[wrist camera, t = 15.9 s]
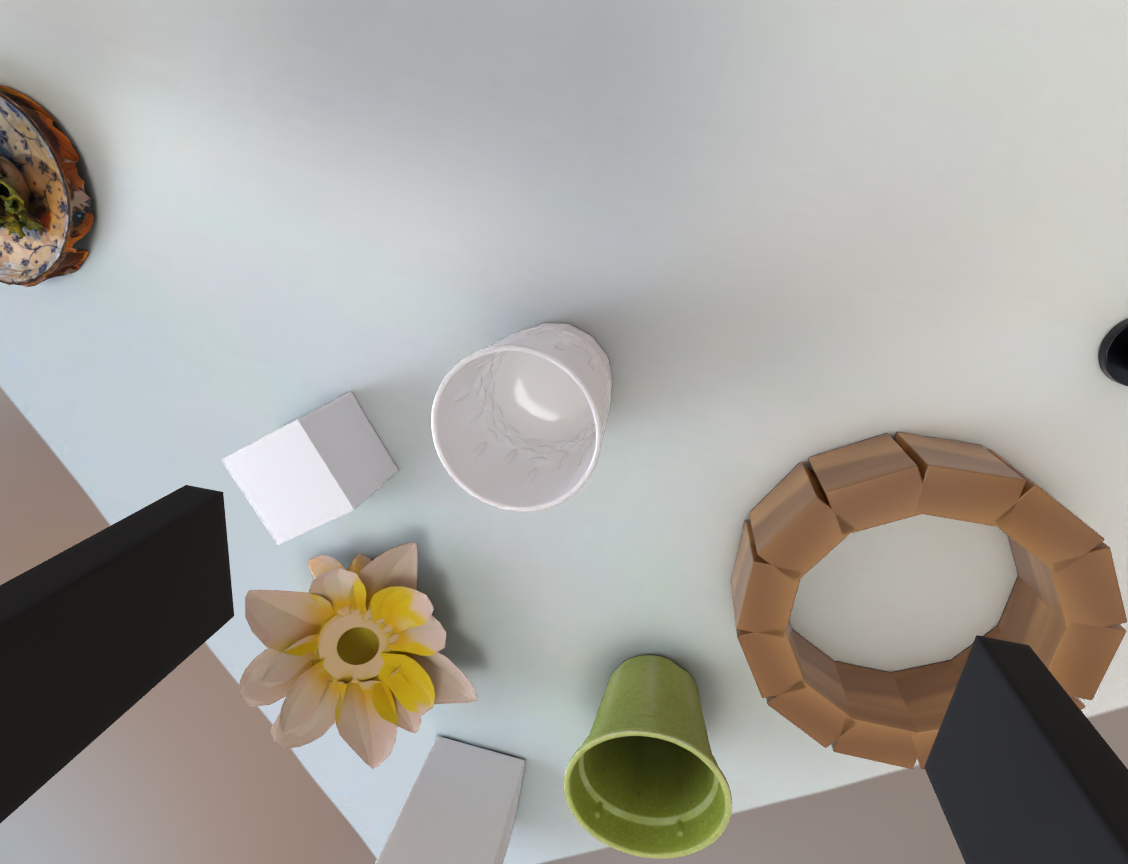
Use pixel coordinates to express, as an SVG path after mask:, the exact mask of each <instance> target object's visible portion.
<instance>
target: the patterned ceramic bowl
mask: <svg viewBox="0 0 1128 864" xmlns="http://www.w3.org/2000/svg"><path fill="white" fill-rule="evenodd" d="M54 121H55V120H54V119H53V118H52V117H51V116H50V115H49V114H48V113H47V112H46V111H45V110H44V109H43V108H42V107H41V106H39V105H38V104H37V103H35V102H34V101H32V100H31V99H30V98H28V97H27V96H26V95H24V94H22V93H19V92H17V91H15V90H13V89H11V88H9V87H6V86H2V85H0V282H2V283H5V284H8V285H12V284H15V285H23V286H25V287H30V286H35V285H37V284H39V283H41V282H43V281H45V280H47V279H48V278H52V277H55V276H61V275H66V274H69V273H73V272H76V271H77V270H79V268H80V267H79V265H80V264H82V263H83V262H82V261H84V260H85V259H86V257H87V255H88V254H89V252H88V251H85V250H80V249H78V250H76V249H72V246H73V245H74V243H75V242H76V241H78V240H80V239H81V238H82V237H83V236H84V235H86V233H87V232H88V231H89V230H90V228H91V227H92V223H93V221H94V214H93V213H91V212H90V208H91V205H92V203H93V201H92V200H91V199H90V198H89V197H88V196H87V195H86V194H85V189H84V183H85V181H84V180H82V179H81V178H80V177H79V175H78V169H77V168H76V165H75V164H76V162H78V160H79V155H78V154H77V153H76V152H75V150H74V149H73V147H72V144H71V141H70V140H69V139H68V138H67V137H66V136H65V135H64V134H63V133H62V132H60V131H59V130H58V129H56V128H55V127H54V126H53V122H54Z"/></svg>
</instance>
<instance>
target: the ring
mask: <svg viewBox="0 0 1128 864" xmlns="http://www.w3.org/2000/svg"><path fill="white" fill-rule="evenodd" d="M809 462H810V465H811V468H812V470H813V471H812V470H811V469H809V468H808V467H807V466H806V465H804V464H803V463H802V462H800V463H799V464H798V465H797V466H796V467H795V468H794V469H793V470H792V471H791V472H790V473H789V474H788V475H787V476H786V477H785V478H784V479H783V480H782V481H781V482H780V483H779V484H778V485H777V486H776V487H775V488H774V489H773V490H772V491H771V492H770V493H769V494H768V495H767V496H766V497H765V498H764V499H763V500H762V501H761V502H760V503H759V504H758V505H757V506H756V507H755V508H754V509H753V510H752V511H751V512H750V513H749V516H750V521H748V520H745V522H744V526H743V531H742V535H741V539H740V544H739V548H738V552H737V557H736V561H735V565H734V570H733V574H732V578H731V585H732V597H733V605H734V613H735V622H736V630H737V637H738V640H739V642H740V645H741V647H742V650H743V652H744V654H745V657H746V659H747V662H748V664H749V667H750V669H751V672H752V674H753V676H754V679H755V681H756V684H757V686H758V689H759V691H760V694H761V696H762V698H767V704H768V705H769V706H770V707H772V708H773V709H774V710H776V711H777V712H778V713H780V714H781V715H782V716H784V717H785V718H786V719H788V720H789V721H790V722H792V723H793V724H794V725H796V726H797V727H798V728H800V729H801V730H802V731H804V732H805V733H806V734H808V735H809V736H810V737H812V738H813V739H814V740H816V741H817V742H818V743H820V744H821V745H822V746H824V747H825V748H826V747H828V746H829V745H830V744H832V748H833V751H834V752H838V753H842V754H847V755H851V756H856V757H860V758H865V759H869V760H874V761H878V762H883V763H887V764H892V765H896V766H901V767H905V768H910V769H913V767H914V764H915V762H916V759H917V760H918V762H919V764H920V767H921V769H925V768H924V766H925V764H926V761H927V759H928V756H929V754H930V751H931V749H932V746H933V744H934V741H935V739H936V736H937V734H938V731H939V729H940V726H941V724H942V721H943V719H944V716H945V714H946V711H947V709H948V706H949V704H950V701H951V698H952V696H953V693H954V691H955V688H956V686H957V683H958V681H959V678H960V676H961V673H962V671H963V668H964V666H965V663H966V661H967V658H968V656H969V653H970V651H971V648H972V646H973V645H971V646H970V647H969V648H967V649H966V650H965V651H963V652H962V653H961V654H959V655H958V656H956V657H955V658H954V659H952V660H951V661H946V662H941V663H936V664H931V665H927V666H922V667H917V668H912V669H907V670H902V671H898V672H893V673H890V672H885V671H880V670H875V669H870V668H865V667H860V666H855V665H850V664H845V663H840V662H836V661H833V660H832V659H830V658H829V657H828V656H826V655H825V654H824V653H822V652H821V651H820V650H819V649H817V648H816V647H815V646H813V645H812V644H811V643H809V642H808V641H807V640H805V639H804V638H803V637H801V636H800V635H799V634H798V633H796V632H795V631H794V630H792V628H791V625H790V623H789V618H790V614H791V611H792V607H793V603H794V600H795V596H796V593H797V589H798V585H799V582H800V578H801V577H802V576H803V575H804V574H805V573H807V572H808V571H809V570H810V569H811V568H812V567H813V566H814V565H815V564H817V563H818V562H819V561H820V560H821V559H822V558H823V557H824V556H825V555H827V554H828V553H829V552H830V551H831V550H832V549H833V548H834V547H836V546H837V545H838V544H839V543H840V542H841V541H842V540H843V539H844V538H846V537H847V536H848V535H849V534H850V533H853V532H857V531H860V530H864V529H868V528H871V527H875V526H879V525H883V524H886V523H890V522H894V521H897V520H901V519H905V518H908V517H912V516H916V515H919V514H926V515H932V516H938V517H944V518H950V519H956V520H962V521H968V522H974V523H979V524H985V525H991V526H997V527H998V528H1000V529H1001V530H1002V531H1003V532H1005V533H1006V534H1007V535H1008V538H1009V541H1010V545H1011V549H1012V552H1013V556H1014V560H1015V563H1016V567H1017V570H1018V574H1019V576H1018V578H1017V581H1016V583H1015V586H1014V588H1013V590H1012V593H1011V595H1010V598H1009V600H1008V603H1007V605H1006V607H1005V610H1004V612H1003V615H1002V617H1001V620H1000V622H999V624H998V626H997V627H996V628H994V629H993V630H992V631H990V632H989V633H988V634H986V635H985V636H983V637H988V638H993V639H999V640H1004V641H1009V642H1014V643H1020V644H1025V645H1029V646H1030V647H1031V648H1032V650H1033V651H1034V652H1035V653H1036V655H1037V656H1038V657H1039V658H1040V660H1041V661H1042V662H1043V663H1044V665H1045V666H1046V667H1047V669H1048V670H1049V671H1050V672H1051V674H1052V675H1053V676H1054V677H1055V679H1056V680H1057V681H1058V682H1059V684H1060V685H1061V686H1062V687H1063V689H1064V690H1065V691H1066V692H1067V694H1068V695H1069V696H1070V697H1071V699H1072V700H1073V701H1074V703H1075V704H1076V705H1077V706H1078V708H1079V709H1080V710H1081V709H1083V708H1084V707H1085V705H1084V704H1083V703H1082V702H1081V700H1080V699H1079V698H1083V699H1088V700H1092V699H1093V697H1094V695H1095V693H1096V691H1097V689H1098V687H1099V685H1100V683H1101V681H1102V679H1103V677H1104V675H1105V673H1106V671H1107V669H1108V667H1109V665H1110V663H1111V661H1112V659H1113V657H1114V655H1115V653H1116V651H1117V649H1118V647H1119V645H1120V643H1121V641H1122V639H1123V637H1124V635H1125V633H1126V630H1125V629H1124V628H1123V627H1122V626H1121V625H1120V624H1122V623H1126V622H1127V619H1126V615H1125V610H1124V606H1123V602H1122V598H1121V593H1120V589H1119V585H1118V580H1117V576H1116V572H1115V568H1114V563H1113V559H1112V555H1111V551H1110V548H1109V547H1108V546H1107V545H1106V544H1105V543H1103V541H1104V538H1103V537H1102V536H1100V535H1099V534H1098V533H1097V532H1095V531H1094V530H1093V529H1092V528H1090V527H1089V526H1088V525H1087V524H1085V523H1084V522H1083V521H1082V520H1080V519H1079V518H1078V517H1077V516H1075V515H1074V514H1073V513H1072V512H1070V511H1069V510H1068V509H1067V508H1065V507H1064V506H1063V505H1062V504H1060V503H1059V502H1058V501H1057V500H1055V499H1054V498H1053V497H1052V496H1050V495H1049V494H1048V493H1047V492H1045V491H1044V490H1043V489H1042V488H1040V487H1039V486H1038V485H1037V484H1035V483H1034V482H1033V481H1031V480H1030V479H1029V478H1027V477H1026V476H1025V475H1024V474H1022V473H1021V472H1020V471H1018V470H1017V469H1016V468H1015V467H1013V466H1012V465H1011V464H1009V463H1008V462H1007V461H1005V460H1004V459H1003V458H1002V457H1000V456H999V455H998V454H996V453H995V452H994V451H992V450H991V449H988V450H987V449H985V448H984V447H983V446H981V445H978V444H972V443H965V442H959V441H952V440H946V439H939V438H933V437H926V436H920V435H913V434H907V433H900V432H897V434H896V437H895V440H893V439H892V437H891V436H890V435H889V434H888V433H886V434H883V435H880V436H876V437H873V438H870V439H867V440H864V441H860V442H857V443H854V444H851V445H848V446H844V447H841V448H838V449H835V450H832V451H828V452H825V453H822V454H819V455H815V456H812V457H809Z"/></svg>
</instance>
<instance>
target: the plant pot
mask: <svg viewBox="0 0 1128 864" xmlns="http://www.w3.org/2000/svg"><path fill="white" fill-rule="evenodd" d="M564 793H565V797H566V801H567V804H568V806H569V808H570V810H571V812H572V813H573V815H574V817H575V818H576V820H577V821H578V822H579V824H580V825H581V826H582V827H583V828H584V829H585V830H586V831H588V832H589V833H590V834H591V835H592V836H593V837H595V838H596V839H598V840H599V841H601V842H602V843H604V844H606V845H608V846H609V847H612V848H614V849H616V850H619V851H621V852H624V853H627V854H631V855H635V856H639V857H646V858H677V857H682V856H687V855H688V854H692V853H695V852H697V851H700V850H702V849H704V848H706V847H707V846H708V845H710V844H712V843H713V842H715V841H716V840H717V838H719V837H720V835H721V834H722V833H723V832H724V830H725V829H726V827H727V825H728V823H729V820H730V817H731V813H732V797H731V792H730V788H729V785H728V782H727V780H726V778H725V776H724V774H723V773H722V771H721V770H720V768H719V767H718V765H717V762H716V760H715V758H714V756H713V755H712V752H711V749H710V744H709V740H708V736H707V731H706V727H705V722H704V718H703V713H702V708H701V703H700V699H699V694H698V690H697V686H696V684H695V681H694V679H693V678H692V676H691V675H690V674H689V672H687V671H685V670H683V669H682V668H680V667H679V666H677V665H676V664H675V663H674V662H672V661H671V660H670V659H668V658H664V657H660V656H654V655H643V656H637V657H633V658H630V659H628V660H626V661H624V662H623V663H622V664H621V665H620V666H619V667H618V668H617V669H616V670H615V671H614V672H613V674H612V675H611V677H610V680H609V682H608V685H607V688H606V691H605V693H604V696H603V699H602V702H601V704H600V707H599V710H598V713H597V716H596V718H595V721H594V724H593V726H592V729H591V732H590V735H589V736H588V737H587V738H586V740H585V741H584V743H583V744H582V746H581V747H580V748H579V749H578V750H577V751H576V752H575V753H574V755H573V756H572V758H571V759H570V761H569V763H568V766H567V769H566V772H565V776H564Z"/></svg>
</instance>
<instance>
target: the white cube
mask: <svg viewBox="0 0 1128 864" xmlns="http://www.w3.org/2000/svg"><path fill="white" fill-rule="evenodd" d="M221 461H222V462H223V464H224V465H225V467H226V468H227V470H228V471H229V473H230V474H231V476H232V477H233V479H234V480H235V482H236V483H237V485H238V486H239V488H240V489H241V490H242V492H243V493H244V495H245V496H246V498H247V499H248V501H249V502H250V504H251V505H252V507H253V508H254V510H255V511H256V513H257V514H258V516H259V517H260V519H261V520H262V522H263V523H264V525H265V526H266V528H267V529H268V531H269V532H270V534H271V535H272V537H273V538H274V540H275V541H276V543H277V544H278V545H279V544H281V543H283V542H285V541H287V540H290V539H292V538H294V537H296V536H298V535H301V534H303V533H305V532H307V531H309V530H311V529H314V528H316V527H318V526H320V525H322V524H325V523H327V522H329V521H331V520H333V519H336V518H338V517H340V516H342V515H344V514H347V513H349V512H351V511H353V510H355V509H356V508H357V507H358V506H359V505H360V504H362V503H363V502H364V501H365V500H366V499H367V498H368V497H369V496H371V495H372V494H373V493H374V492H375V491H376V490H377V489H378V488H380V487H381V486H382V485H383V484H384V483H385V482H386V481H387V480H389V479H390V478H391V477H392V476H393V475H394V474H395V473H396V472H398V471H399V470H398V468H397V467H396V465H395V464H394V462H393V460H392V459H391V457H390V455H389V454H388V452H387V450H386V449H385V447H384V445H383V444H382V442H381V440H380V439H379V437H378V435H377V434H376V432H375V430H374V429H373V427H372V425H371V424H370V422H369V420H368V419H367V417H366V415H365V414H364V412H363V410H362V409H361V407H360V405H359V404H358V402H357V400H356V399H355V397H354V396H353V394H352V392H351V391H350V392H348V393H346V394H344V395H342V396H341V397H339V398H337V399H335V400H333V401H331V402H329V403H327V404H325V405H323V406H321V407H320V408H318V409H316V410H314V411H312V412H310V413H308V414H306V415H304V416H302V417H301V418H299V419H297V420H295V421H293V422H291V423H289V424H287V425H285V426H284V427H282V428H280V429H278V430H276V431H274V432H272V433H270V434H269V435H267V436H265V437H263V438H261V439H259V440H257V441H255V442H254V443H252V444H250V445H248V446H246V447H244V448H242V449H240V450H239V451H237V452H235V453H233V454H231V455H229V456H227V457H225V458H223V459H222V460H221Z"/></svg>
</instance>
